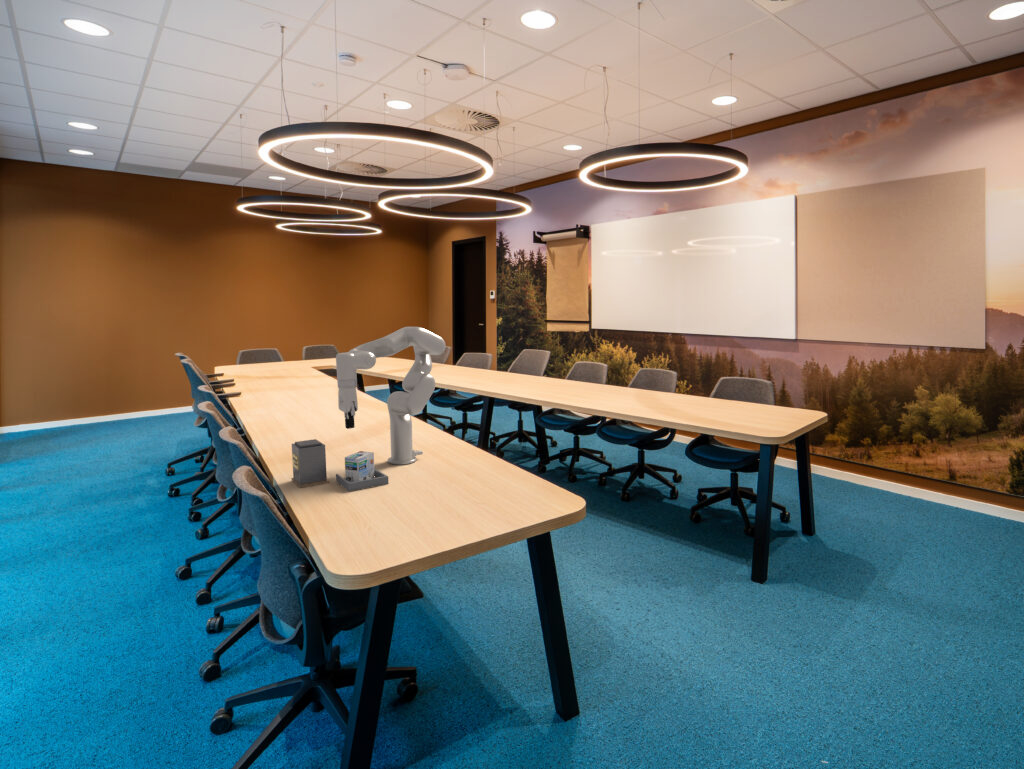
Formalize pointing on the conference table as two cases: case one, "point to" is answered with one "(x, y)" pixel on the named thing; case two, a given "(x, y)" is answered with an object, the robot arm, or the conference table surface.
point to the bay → (363, 481)
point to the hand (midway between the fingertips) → (350, 427)
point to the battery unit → (309, 463)
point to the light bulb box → (359, 466)
